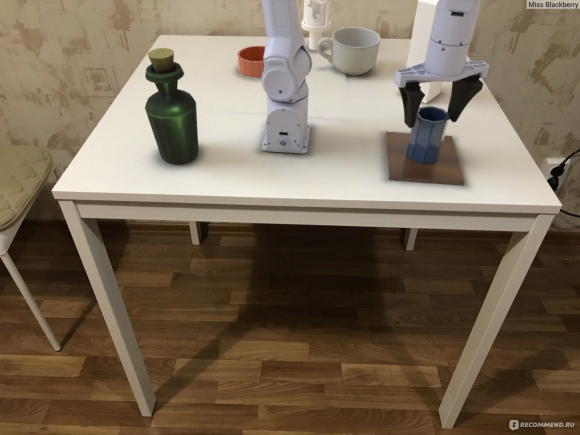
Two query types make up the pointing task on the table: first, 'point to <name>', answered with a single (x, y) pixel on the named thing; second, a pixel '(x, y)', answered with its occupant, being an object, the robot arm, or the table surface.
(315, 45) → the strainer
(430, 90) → the milk
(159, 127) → the potion bottle
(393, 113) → the table surface
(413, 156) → the blue cup
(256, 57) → the orange ramekin
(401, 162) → the walnut board
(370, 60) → the teacup
